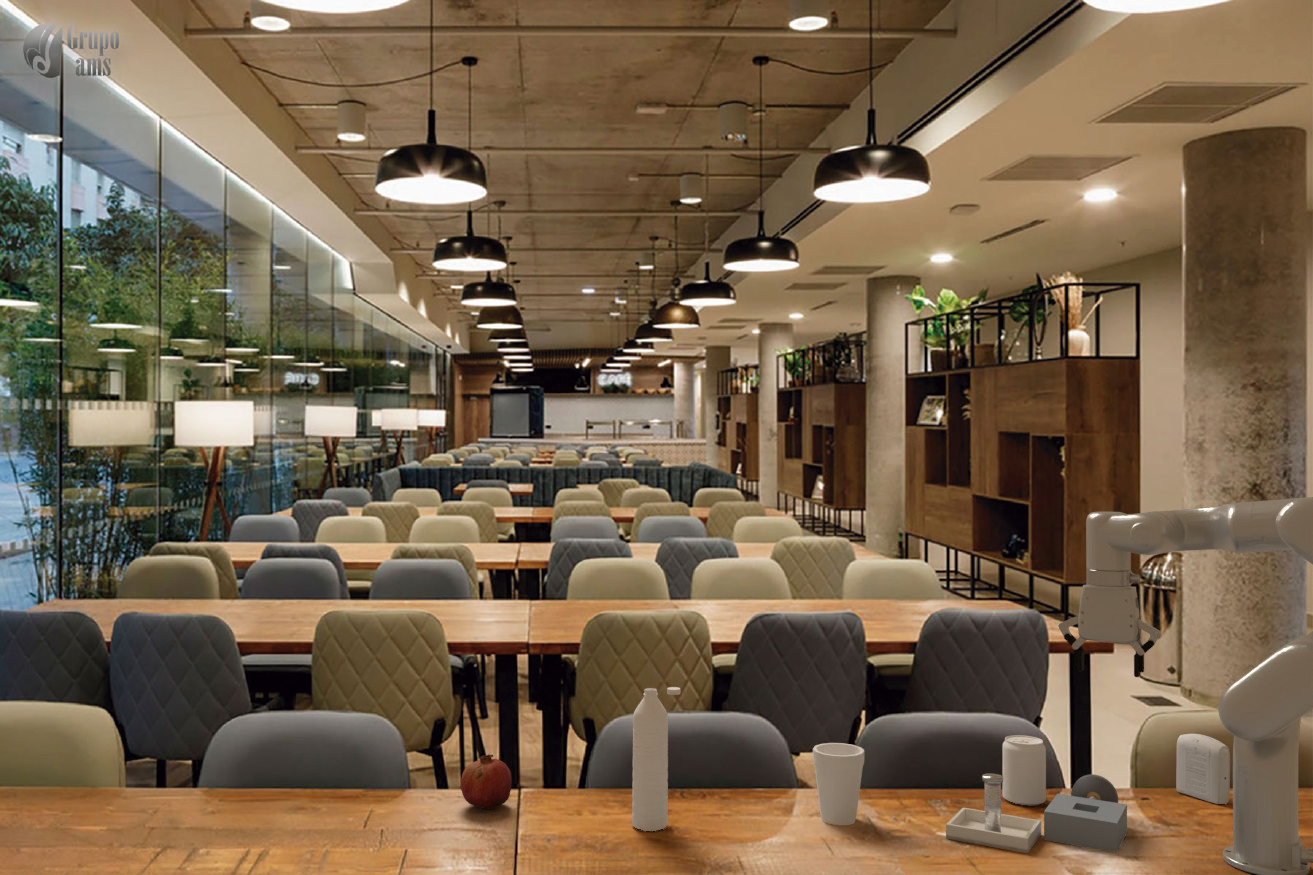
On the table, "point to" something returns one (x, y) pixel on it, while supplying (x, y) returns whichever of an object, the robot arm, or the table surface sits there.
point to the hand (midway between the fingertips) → (1108, 673)
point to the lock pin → (992, 801)
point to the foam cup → (838, 781)
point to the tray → (1012, 837)
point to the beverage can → (1024, 770)
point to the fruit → (486, 783)
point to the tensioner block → (1087, 816)
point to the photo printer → (1203, 768)
